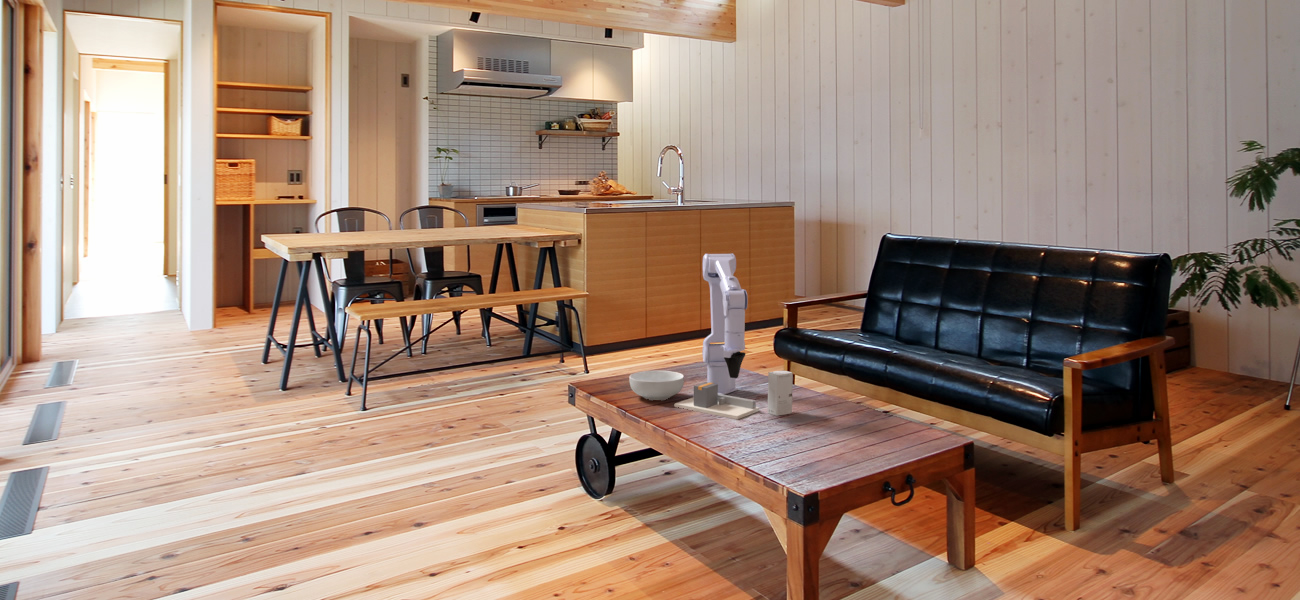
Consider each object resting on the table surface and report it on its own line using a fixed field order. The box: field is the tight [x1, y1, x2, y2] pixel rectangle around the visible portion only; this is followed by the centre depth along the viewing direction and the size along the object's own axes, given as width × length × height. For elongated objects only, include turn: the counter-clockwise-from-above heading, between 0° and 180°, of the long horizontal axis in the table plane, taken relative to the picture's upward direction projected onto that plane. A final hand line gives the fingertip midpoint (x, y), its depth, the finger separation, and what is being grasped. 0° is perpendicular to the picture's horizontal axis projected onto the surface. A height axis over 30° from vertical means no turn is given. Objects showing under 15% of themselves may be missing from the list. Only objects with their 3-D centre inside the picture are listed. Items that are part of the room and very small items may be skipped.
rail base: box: [674, 394, 760, 420], centre depth 251 cm, size 12×22×3 cm, turn 52°
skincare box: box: [767, 369, 794, 417], centre depth 245 cm, size 6×4×12 cm
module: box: [693, 381, 718, 408], centre depth 251 cm, size 6×4×6 cm
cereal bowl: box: [629, 370, 685, 401], centre depth 264 cm, size 17×17×7 cm
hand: (734, 377), depth 248 cm, fingers closed
